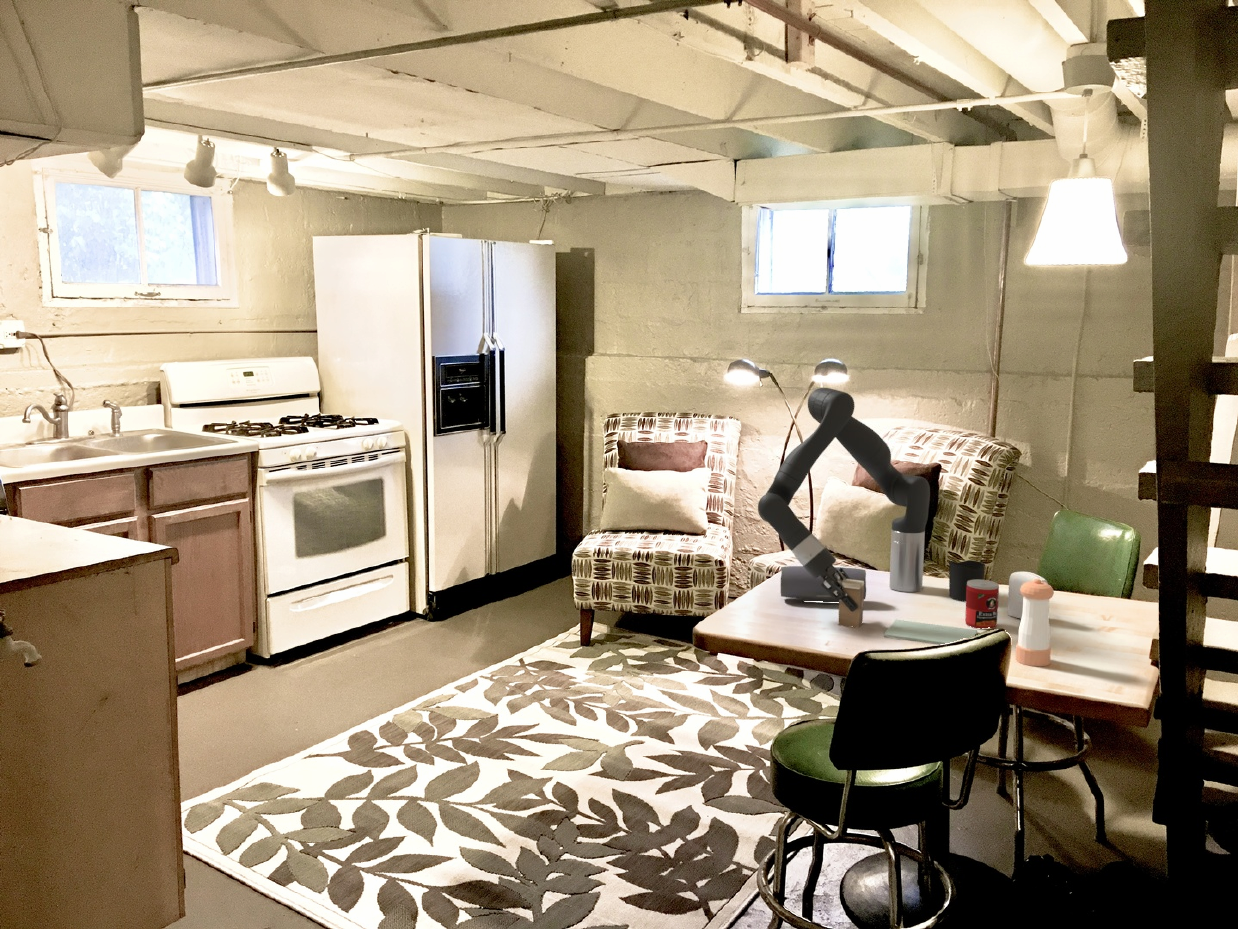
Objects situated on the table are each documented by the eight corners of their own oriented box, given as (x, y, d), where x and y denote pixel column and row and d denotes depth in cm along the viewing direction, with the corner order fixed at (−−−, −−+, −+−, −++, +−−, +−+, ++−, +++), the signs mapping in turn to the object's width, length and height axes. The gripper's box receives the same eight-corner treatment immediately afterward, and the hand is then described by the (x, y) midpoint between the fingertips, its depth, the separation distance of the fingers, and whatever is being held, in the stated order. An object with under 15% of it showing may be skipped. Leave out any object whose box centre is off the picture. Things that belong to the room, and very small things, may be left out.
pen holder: (979, 604, 271) (981, 568, 270) (944, 599, 276) (946, 564, 275) (986, 596, 279) (987, 562, 278) (951, 592, 284) (953, 558, 283)
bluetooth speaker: (862, 599, 277) (863, 564, 275) (865, 608, 268) (867, 572, 266) (780, 595, 280) (781, 561, 278) (780, 604, 271) (781, 569, 269)
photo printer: (1004, 615, 261) (1007, 569, 259) (1015, 613, 263) (1018, 567, 261) (1037, 625, 252) (1040, 578, 250) (1048, 623, 254) (1051, 576, 253)
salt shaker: (1041, 655, 229) (1046, 575, 226) (1055, 666, 221) (1061, 583, 219) (1010, 656, 228) (1014, 575, 226) (1023, 666, 221) (1028, 583, 219)
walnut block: (843, 620, 257) (844, 578, 255) (862, 622, 254) (863, 581, 253) (838, 625, 252) (839, 583, 251) (858, 627, 250) (859, 585, 248)
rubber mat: (895, 621, 255) (895, 619, 255) (977, 632, 246) (977, 630, 246) (884, 636, 243) (884, 634, 243) (969, 648, 234) (969, 646, 234)
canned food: (977, 630, 248) (979, 588, 246) (958, 621, 255) (960, 580, 254) (1003, 628, 250) (1006, 586, 248) (984, 619, 257) (986, 578, 256)
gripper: (816, 552, 248) (862, 604, 244) (831, 541, 260) (875, 591, 257) (795, 570, 251) (840, 622, 247) (810, 559, 263) (854, 608, 260)
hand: (858, 606), depth 252 cm, fingers open, 5 cm apart
